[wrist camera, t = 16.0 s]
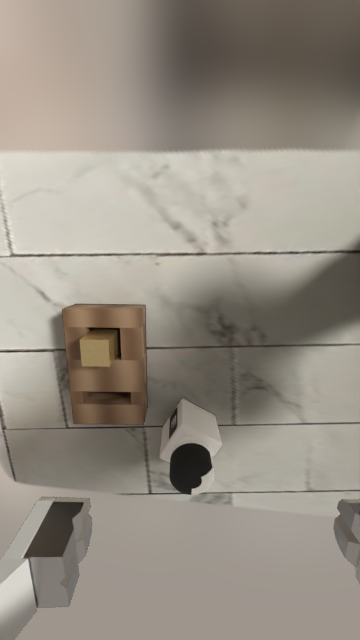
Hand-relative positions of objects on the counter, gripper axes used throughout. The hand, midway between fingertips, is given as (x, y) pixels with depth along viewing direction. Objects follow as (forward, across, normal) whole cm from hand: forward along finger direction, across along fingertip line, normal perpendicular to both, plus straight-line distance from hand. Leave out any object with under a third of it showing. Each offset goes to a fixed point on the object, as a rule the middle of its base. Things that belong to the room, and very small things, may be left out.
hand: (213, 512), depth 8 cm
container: (+34, -1, +22) cm, 41 cm away
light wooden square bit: (+33, +13, +4) cm, 36 cm away
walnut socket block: (+34, +13, +9) cm, 38 cm away
